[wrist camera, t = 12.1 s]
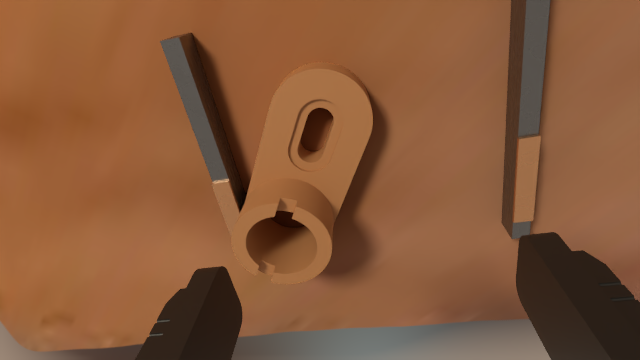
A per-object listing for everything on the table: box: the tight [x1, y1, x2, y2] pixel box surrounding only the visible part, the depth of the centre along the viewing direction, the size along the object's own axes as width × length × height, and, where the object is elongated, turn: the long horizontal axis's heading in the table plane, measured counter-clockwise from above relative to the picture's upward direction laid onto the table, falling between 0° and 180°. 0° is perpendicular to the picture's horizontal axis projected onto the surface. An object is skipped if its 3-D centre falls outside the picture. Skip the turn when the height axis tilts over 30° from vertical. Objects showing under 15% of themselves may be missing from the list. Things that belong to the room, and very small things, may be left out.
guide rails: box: [160, 0, 550, 239], centre depth 31 cm, size 22×27×3 cm
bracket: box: [231, 62, 373, 284], centre depth 31 cm, size 18×8×7 cm, turn 162°
